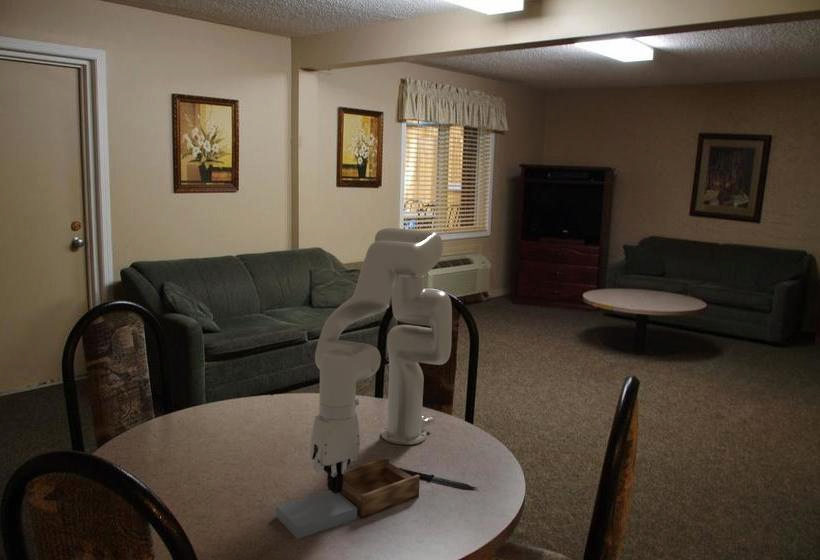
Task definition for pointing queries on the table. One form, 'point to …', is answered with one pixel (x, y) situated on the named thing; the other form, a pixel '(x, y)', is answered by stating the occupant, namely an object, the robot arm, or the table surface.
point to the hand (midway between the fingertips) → (335, 490)
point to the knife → (438, 480)
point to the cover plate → (315, 513)
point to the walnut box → (378, 487)
